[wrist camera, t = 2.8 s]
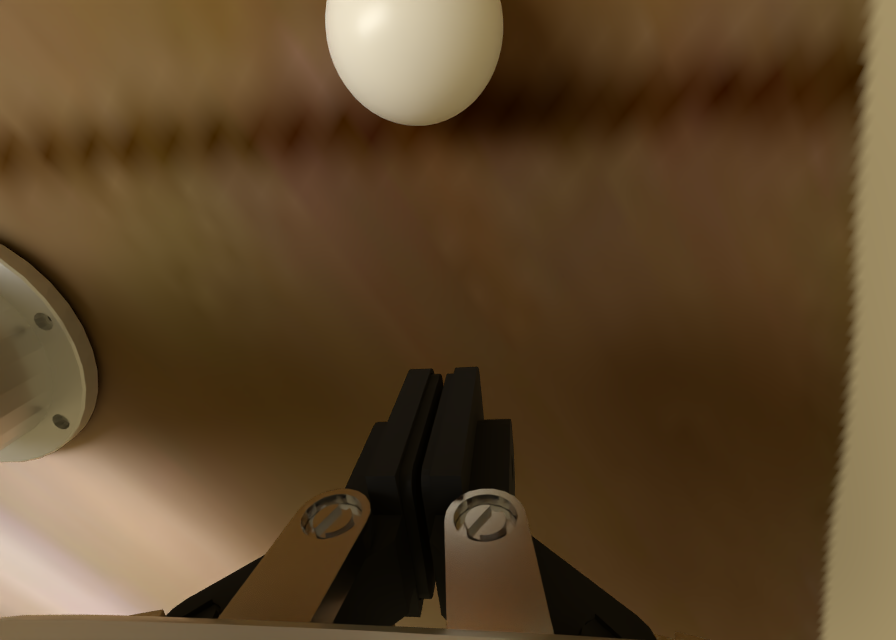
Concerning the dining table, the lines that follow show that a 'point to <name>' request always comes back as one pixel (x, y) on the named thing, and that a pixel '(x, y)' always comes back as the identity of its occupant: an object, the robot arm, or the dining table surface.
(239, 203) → the dining table surface
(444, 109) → the cue ball
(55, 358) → the robot arm
